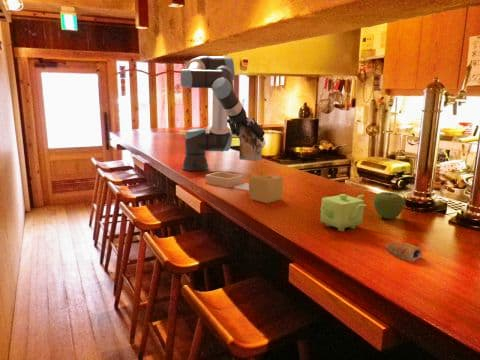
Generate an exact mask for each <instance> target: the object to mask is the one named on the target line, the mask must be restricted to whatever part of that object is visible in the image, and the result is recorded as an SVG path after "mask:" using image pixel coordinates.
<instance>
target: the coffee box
mask: <svg viewBox="0 0 480 360" xmlns="http://www.w3.org/2000/svg"><path fill="white" fill-rule="evenodd" d="M258 125H259V126H260V127H261V129H262V130H263V125H260V124H258ZM247 126H248V125H247ZM258 135H259V134H258ZM262 150H263V149H262V147H261V145H260V143H259V142H258V140H257V136H255V135H254V134H253V133H252V132H251V131H250V130H248V129H246V128H245V127H240V139H239V155H238V157H239V158H238V159H239V160H241V161H251V162H258V161H261V160H262V158H263V157H262V155H263V154H262Z"/></svg>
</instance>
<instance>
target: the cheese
mask: <svg viewBox="0 0 480 360" xmlns="http://www.w3.org/2000/svg"><path fill="white" fill-rule="evenodd" d="M283 182H284V178H283V177H282V176H279V175H276V174H275V175H274V174H268V175H267V174H266V175H265V174H255V175H254V174H253V175H250V176H249V178H248V183H249V191H248V193H249V200H253V201H256V202H261V203H263V204H271V203H273V202H277V201H281V200H282V197H283V187H284V184H283Z"/></svg>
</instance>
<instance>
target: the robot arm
mask: <svg viewBox="0 0 480 360" xmlns="http://www.w3.org/2000/svg"><path fill="white" fill-rule="evenodd" d="M234 64H235V63H234V59H233V58H232V57H230V56H225V55H224V56H222V55H221V56H218V55H217V56H216V55H214V56H213V55H212V56H210V55H202V56H201V55H200V56H197V57H194V58H192V59H190V60H189V61H188V62H187V64H186V68H185V69H183V68H182V69H181V71H180V85H181V87H182V88H187V89H190V88H191V89H192V88H193V89H199V88H200V89H211V91H212V116H211V117H212V119H211V120H212V121H211V122H212V123H211V126H210V127H209V130H206V128H202V127H201V128H194V129H193V128H192V129H188V130H186V131H185V136H184V139H185V146H184V147H185V148H184V149H185V155H184V159H183V163H182V166H181V167H182V170H184V171H188V172H202V171H207V170H208V169H209V163H208V159H207V157H206V152H221V153H223V152H228V151H230V149H231V147H232V141H233V140H232V139H233V136H235V137H236V136H237V138H238V139H239V140H240V127H245V128H246V129H248V130H250V131H251V132H252V133H253V134H254V135H255V136H257V140H258V142H259V143H260V145H261V147H262V148H264V147H265V145H266V141H265V138H264V135H265V134H266V132H265V131H264V130H263V128H262V129H261V127H260V126H259V125H260V124H258V122H256V118H254V117H252V118H249V117H248V116H247V112H246V110H245V108H244V106H243V105H242V103H241V101H240V99H239V97H238V96H237V94H236V92H235V88H234V81H235V80H236V75H235V73H236V72H235V65H234ZM247 125H248V126H247ZM258 134H259V135H258Z"/></svg>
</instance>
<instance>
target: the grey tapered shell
mask: <svg viewBox="0 0 480 360" xmlns="http://www.w3.org/2000/svg"><path fill="white" fill-rule="evenodd" d="M385 247H386V250H387V252H389V253H390V254H391V255H393V257H396V258H398V259H400V260H403V261H405V262H415V261H417V259H420V258H422V257H423V252H422V249H421V247H419V246H415V245H413V244H411V243H408V242H406V243H405V242H388V243H386V246H385Z"/></svg>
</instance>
